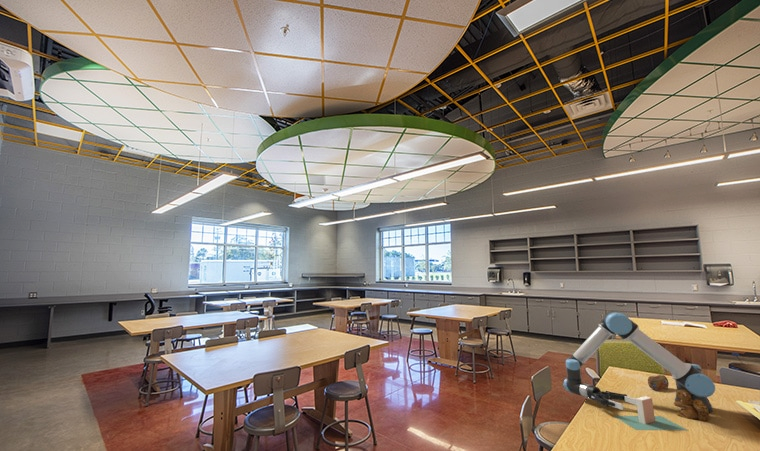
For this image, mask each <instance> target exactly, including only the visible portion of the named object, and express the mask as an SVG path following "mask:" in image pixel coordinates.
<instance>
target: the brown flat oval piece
mask: <svg viewBox="0 0 760 451" xmlns="http://www.w3.org/2000/svg"><path fill="white" fill-rule="evenodd" d="M647 385H648V387H649V388H650V389H651V390H653V391H663V390H667V389H668V388H669V380H668V378H667V376H665V375H662V374H655V375H650V376H648V378H647ZM662 389H663V390H662Z"/></svg>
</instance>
